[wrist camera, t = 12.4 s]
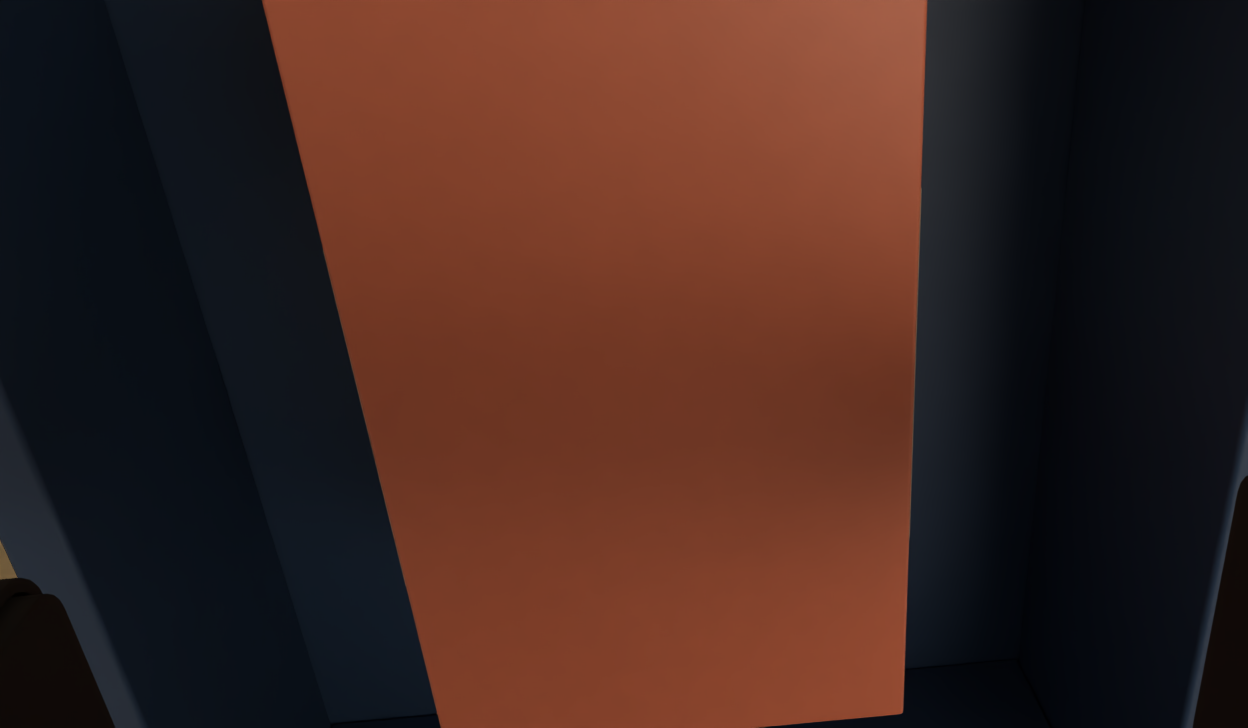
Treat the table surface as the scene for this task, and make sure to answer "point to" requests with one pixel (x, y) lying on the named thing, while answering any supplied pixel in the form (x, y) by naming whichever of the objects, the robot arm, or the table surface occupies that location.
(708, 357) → the orange juice carton
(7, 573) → the table surface
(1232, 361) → the dark blue open box
